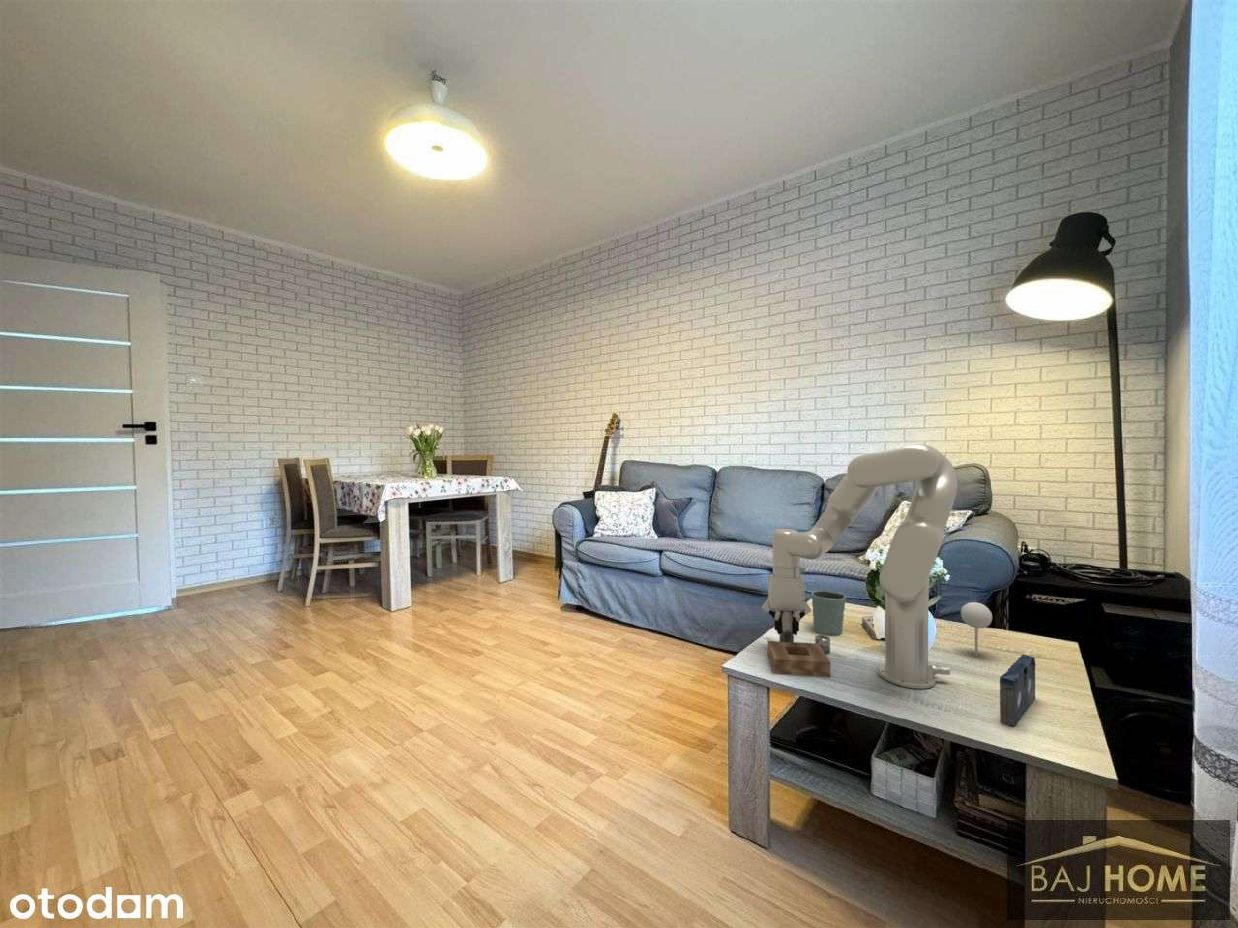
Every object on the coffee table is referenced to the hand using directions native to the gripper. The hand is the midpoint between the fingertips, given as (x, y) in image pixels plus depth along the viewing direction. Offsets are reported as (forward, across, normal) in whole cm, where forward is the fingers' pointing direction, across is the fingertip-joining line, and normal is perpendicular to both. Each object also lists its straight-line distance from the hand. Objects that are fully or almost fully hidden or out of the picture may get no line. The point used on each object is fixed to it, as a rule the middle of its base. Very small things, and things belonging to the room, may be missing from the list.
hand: (786, 632), depth 140 cm
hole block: (+5, -1, +10) cm, 12 cm away
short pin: (+5, -10, 0) cm, 11 cm away
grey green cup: (+5, -16, -17) cm, 24 cm away
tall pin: (+5, 0, 0) cm, 5 cm away
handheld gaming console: (+6, -33, -18) cm, 38 cm away
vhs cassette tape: (+5, -45, +27) cm, 53 cm away
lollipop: (+5, -52, -3) cm, 52 cm away
